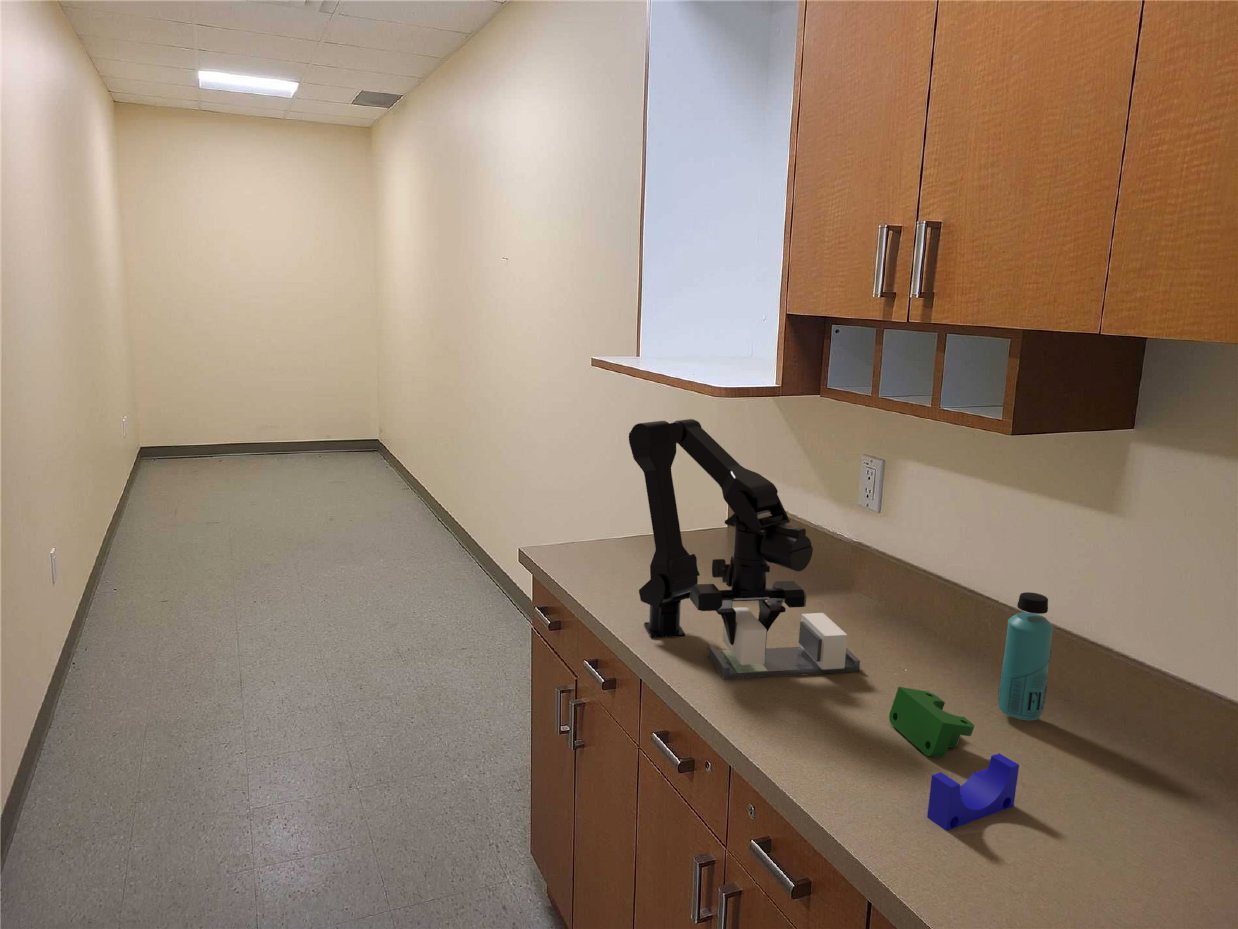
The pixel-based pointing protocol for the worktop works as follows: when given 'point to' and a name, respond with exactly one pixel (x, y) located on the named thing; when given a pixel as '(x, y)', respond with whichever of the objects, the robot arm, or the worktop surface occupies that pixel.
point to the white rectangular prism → (747, 638)
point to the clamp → (927, 721)
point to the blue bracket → (973, 794)
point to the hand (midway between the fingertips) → (745, 643)
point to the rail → (775, 663)
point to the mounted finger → (823, 641)
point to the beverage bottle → (1026, 659)
